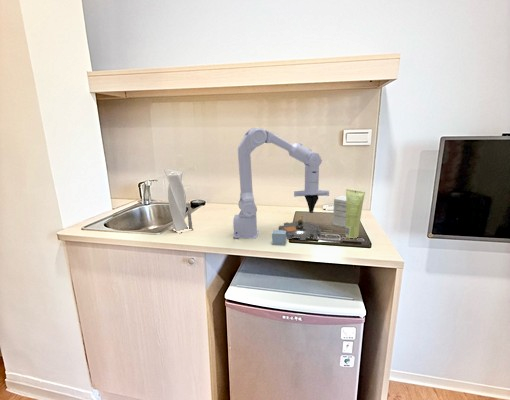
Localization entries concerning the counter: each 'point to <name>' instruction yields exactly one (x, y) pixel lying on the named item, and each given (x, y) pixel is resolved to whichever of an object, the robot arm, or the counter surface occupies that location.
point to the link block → (278, 237)
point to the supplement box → (339, 211)
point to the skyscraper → (177, 201)
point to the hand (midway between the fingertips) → (311, 212)
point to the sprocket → (300, 229)
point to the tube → (353, 212)
